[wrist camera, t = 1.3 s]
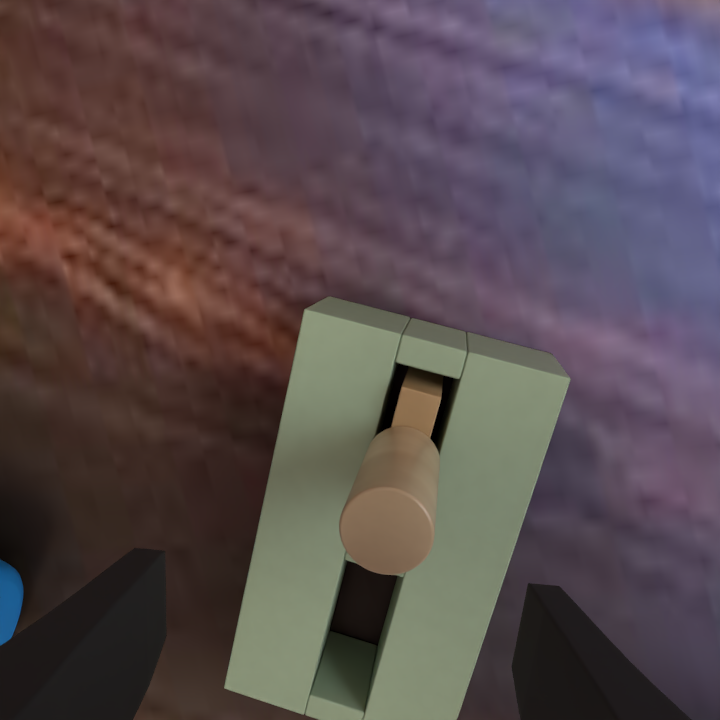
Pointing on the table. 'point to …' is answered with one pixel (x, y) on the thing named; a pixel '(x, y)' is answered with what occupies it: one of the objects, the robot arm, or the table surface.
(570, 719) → the robot arm
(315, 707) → the green slotted block
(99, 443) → the table surface
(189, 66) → the table surface
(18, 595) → the alarm clock
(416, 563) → the wooden peg
